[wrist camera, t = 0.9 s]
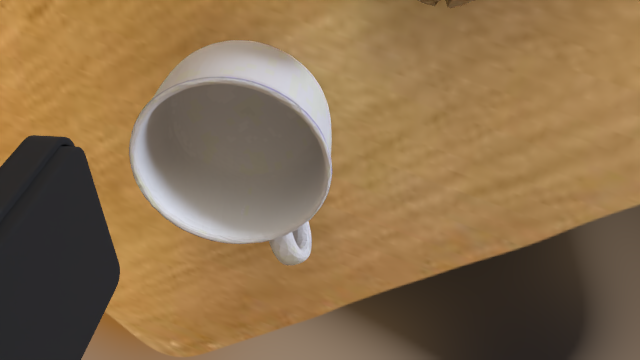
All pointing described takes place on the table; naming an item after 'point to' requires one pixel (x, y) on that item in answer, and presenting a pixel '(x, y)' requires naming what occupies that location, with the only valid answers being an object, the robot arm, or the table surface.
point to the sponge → (447, 2)
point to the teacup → (237, 147)
